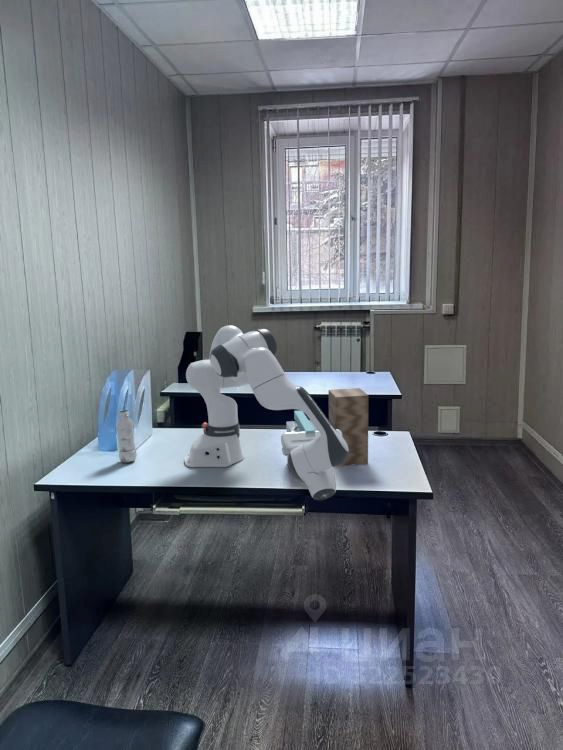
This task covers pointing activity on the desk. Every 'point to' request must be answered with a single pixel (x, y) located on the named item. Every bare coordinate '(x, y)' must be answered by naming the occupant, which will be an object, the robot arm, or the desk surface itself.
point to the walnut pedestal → (351, 422)
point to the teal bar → (303, 422)
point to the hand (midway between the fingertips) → (308, 423)
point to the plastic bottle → (126, 437)
